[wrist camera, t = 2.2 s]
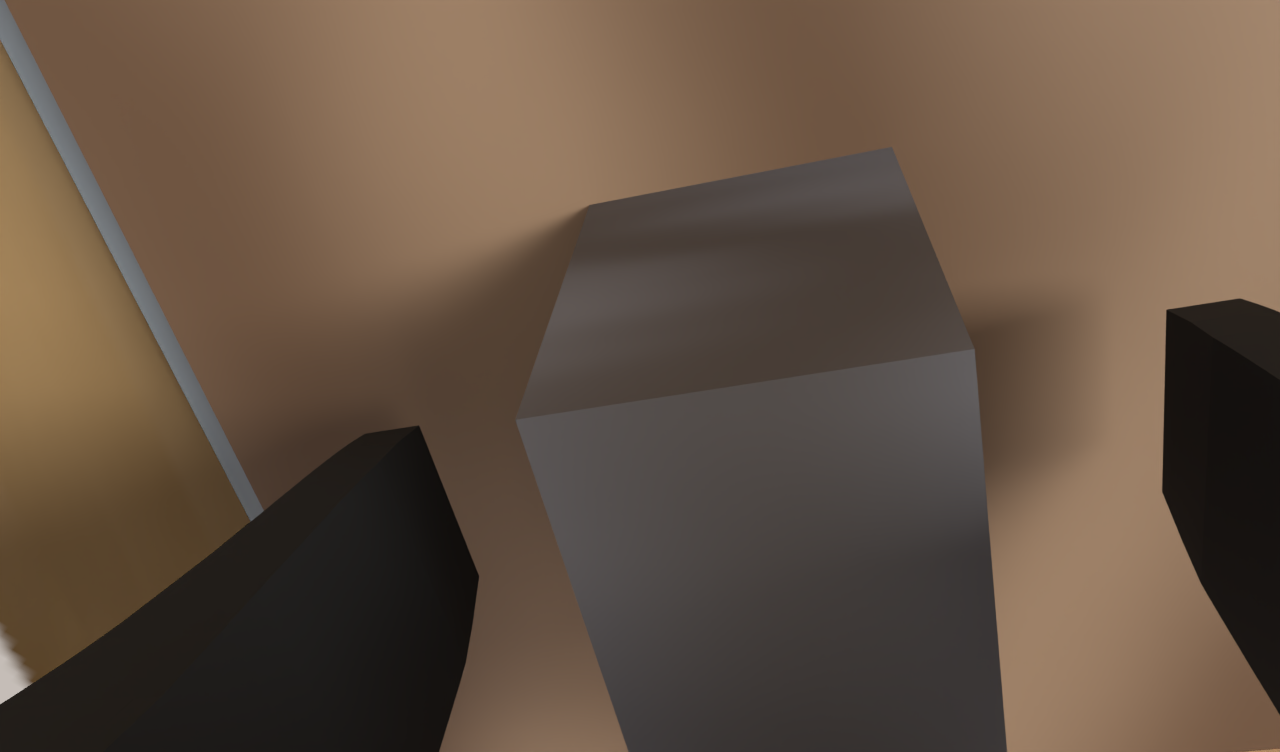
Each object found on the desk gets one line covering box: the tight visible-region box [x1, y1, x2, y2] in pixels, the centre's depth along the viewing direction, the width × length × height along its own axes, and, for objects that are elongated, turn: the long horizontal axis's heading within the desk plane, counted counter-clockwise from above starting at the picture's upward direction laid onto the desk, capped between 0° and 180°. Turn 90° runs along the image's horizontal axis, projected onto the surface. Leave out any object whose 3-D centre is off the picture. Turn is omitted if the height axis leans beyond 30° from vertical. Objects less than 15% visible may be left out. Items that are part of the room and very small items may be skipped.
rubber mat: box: [0, 0, 264, 521], centre depth 12 cm, size 15×15×1 cm
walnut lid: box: [5, 0, 1280, 752], centre depth 10 cm, size 13×13×5 cm
